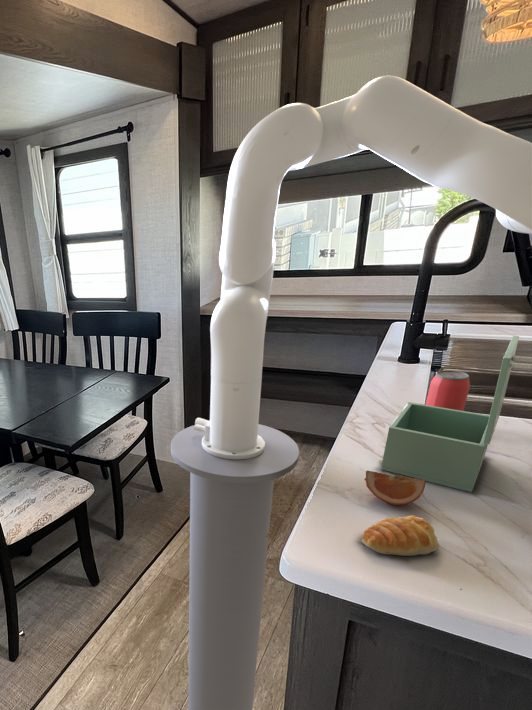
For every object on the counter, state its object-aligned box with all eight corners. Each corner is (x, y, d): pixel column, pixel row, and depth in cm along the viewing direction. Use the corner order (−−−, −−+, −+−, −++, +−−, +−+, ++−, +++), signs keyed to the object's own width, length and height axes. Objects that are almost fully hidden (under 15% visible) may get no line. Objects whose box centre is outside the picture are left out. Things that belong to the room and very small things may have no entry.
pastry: (381, 564, 66) (385, 542, 64) (349, 535, 72) (353, 515, 71) (441, 553, 67) (447, 531, 65) (405, 526, 73) (410, 505, 71)
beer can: (420, 429, 101) (432, 377, 96) (421, 418, 106) (433, 367, 101) (459, 435, 97) (473, 380, 93) (458, 423, 102) (471, 371, 97)
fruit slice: (359, 502, 79) (364, 477, 77) (364, 484, 84) (368, 460, 82) (419, 516, 75) (425, 489, 73) (420, 495, 80) (426, 470, 78)
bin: (380, 469, 88) (389, 427, 85) (400, 440, 97) (408, 401, 94) (471, 492, 79) (485, 446, 76) (483, 458, 88) (496, 416, 85)
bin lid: (503, 357, 70) (557, 361, 66) (513, 335, 80) (560, 337, 76) (482, 443, 76) (531, 451, 72) (494, 413, 85) (537, 419, 81)
